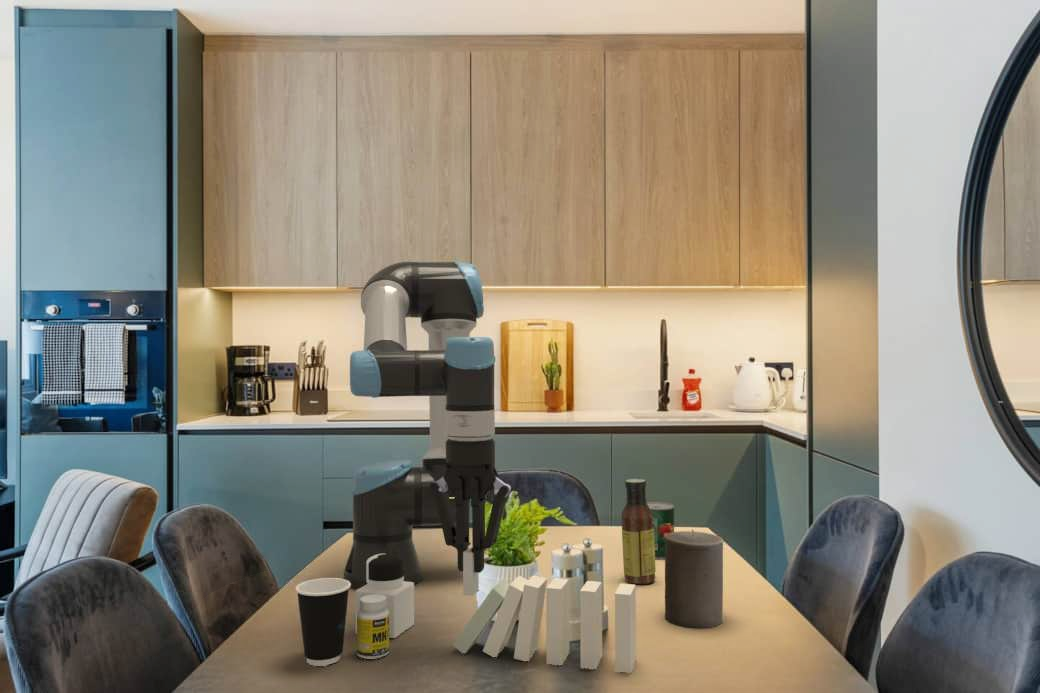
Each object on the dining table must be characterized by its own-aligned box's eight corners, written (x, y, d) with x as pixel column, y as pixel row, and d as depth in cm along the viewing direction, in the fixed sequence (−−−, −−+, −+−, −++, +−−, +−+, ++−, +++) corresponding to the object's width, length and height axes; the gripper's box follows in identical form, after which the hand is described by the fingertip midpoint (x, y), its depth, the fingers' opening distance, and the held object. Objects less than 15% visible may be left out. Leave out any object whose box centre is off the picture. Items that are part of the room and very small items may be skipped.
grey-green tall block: (452, 645, 116) (492, 588, 114) (464, 633, 121) (503, 578, 119) (464, 654, 115) (504, 598, 114) (475, 642, 120) (514, 588, 118)
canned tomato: (638, 549, 177) (638, 501, 177) (673, 550, 176) (673, 502, 176) (638, 559, 169) (638, 508, 169) (675, 560, 168) (675, 509, 168)
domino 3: (546, 664, 112) (546, 587, 112) (555, 651, 116) (554, 578, 117) (561, 665, 111) (561, 589, 111) (569, 653, 116) (568, 579, 116)
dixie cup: (359, 662, 113) (359, 586, 113) (306, 675, 108) (306, 597, 108) (339, 646, 119) (338, 574, 119) (288, 657, 115) (287, 583, 115)
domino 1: (482, 651, 115) (509, 584, 113) (493, 639, 119) (519, 575, 118) (495, 658, 114) (522, 591, 113) (505, 646, 119) (532, 582, 118)
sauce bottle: (654, 576, 155) (653, 477, 155) (656, 586, 149) (656, 482, 149) (621, 576, 156) (620, 477, 156) (622, 585, 150) (621, 482, 150)
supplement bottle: (374, 663, 112) (373, 605, 113) (350, 656, 115) (350, 599, 115) (396, 652, 117) (395, 596, 117) (372, 646, 119) (372, 591, 119)
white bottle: (415, 624, 128) (414, 552, 129) (394, 639, 122) (394, 563, 122) (377, 620, 131) (376, 549, 131) (354, 634, 124) (354, 559, 124)
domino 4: (580, 668, 110) (580, 590, 110) (587, 655, 115) (587, 580, 115) (595, 669, 110) (595, 592, 110) (602, 656, 114) (601, 582, 115)
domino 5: (615, 672, 109) (614, 593, 109) (621, 658, 114) (620, 583, 114) (631, 673, 108) (630, 594, 108) (636, 660, 113) (635, 584, 113)
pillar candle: (659, 624, 128) (660, 533, 128) (669, 605, 137) (669, 521, 137) (720, 632, 124) (720, 538, 124) (726, 612, 134) (726, 525, 134)
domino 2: (513, 658, 113) (524, 584, 113) (523, 645, 118) (533, 575, 118) (527, 662, 112) (538, 588, 112) (537, 649, 117) (547, 578, 117)
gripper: (420, 439, 116) (421, 596, 116) (503, 441, 113) (504, 604, 112) (440, 434, 123) (440, 582, 123) (518, 436, 120) (519, 589, 120)
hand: (471, 592), depth 118 cm, fingers closed
